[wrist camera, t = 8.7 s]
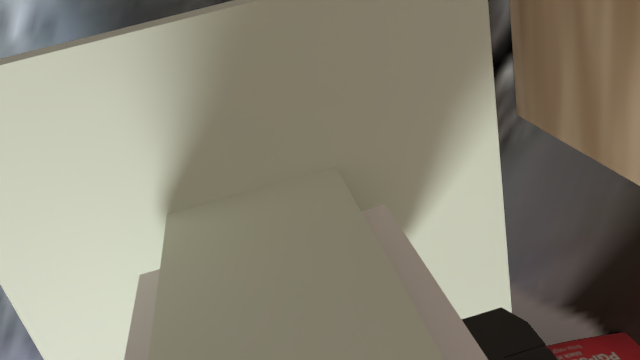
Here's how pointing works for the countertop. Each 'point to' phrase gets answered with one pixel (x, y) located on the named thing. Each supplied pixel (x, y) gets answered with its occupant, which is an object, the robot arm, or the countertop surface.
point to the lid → (253, 179)
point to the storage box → (581, 75)
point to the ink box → (598, 348)
